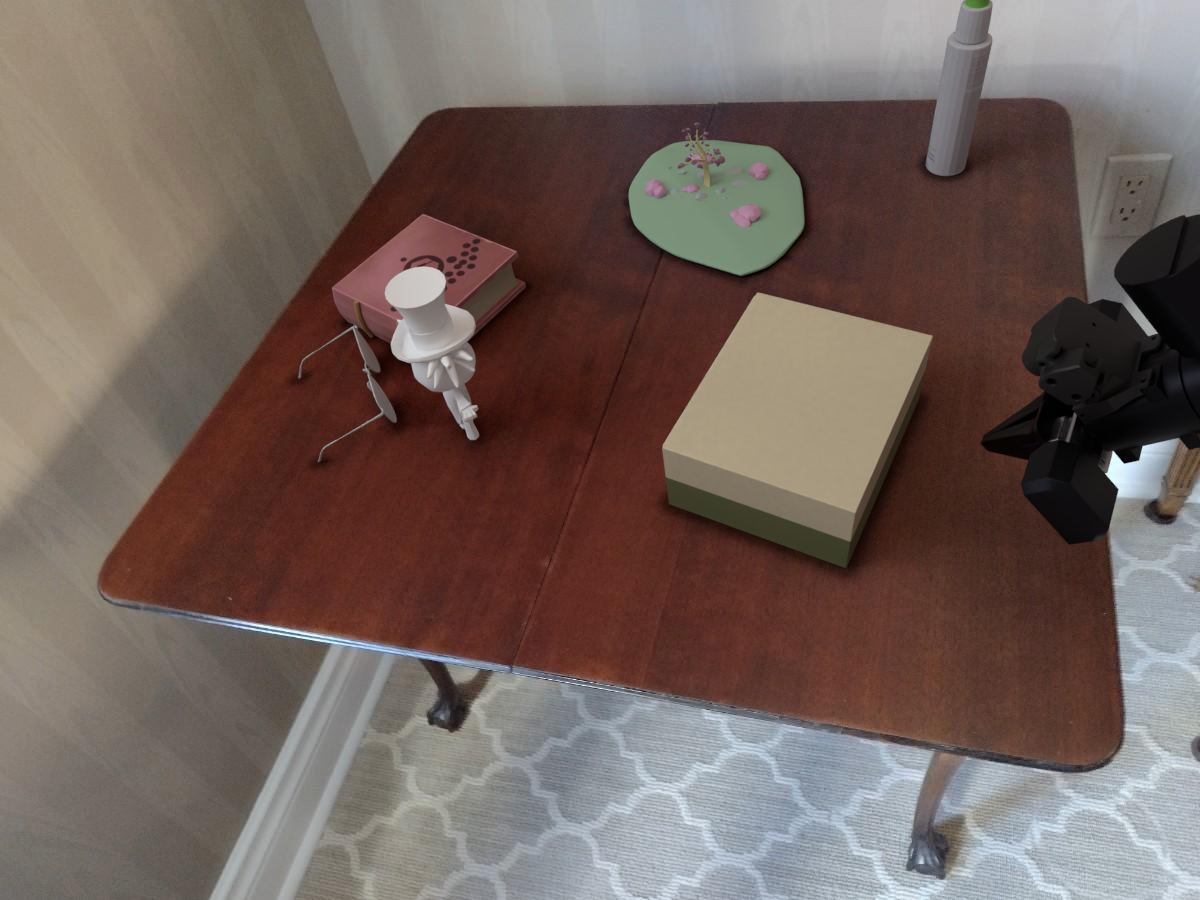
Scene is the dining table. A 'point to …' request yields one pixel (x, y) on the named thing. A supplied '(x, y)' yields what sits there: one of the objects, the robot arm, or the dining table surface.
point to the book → (463, 258)
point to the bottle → (960, 89)
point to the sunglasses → (372, 384)
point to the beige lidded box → (797, 425)
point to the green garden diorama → (719, 203)
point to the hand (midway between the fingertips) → (984, 443)
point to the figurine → (435, 339)
